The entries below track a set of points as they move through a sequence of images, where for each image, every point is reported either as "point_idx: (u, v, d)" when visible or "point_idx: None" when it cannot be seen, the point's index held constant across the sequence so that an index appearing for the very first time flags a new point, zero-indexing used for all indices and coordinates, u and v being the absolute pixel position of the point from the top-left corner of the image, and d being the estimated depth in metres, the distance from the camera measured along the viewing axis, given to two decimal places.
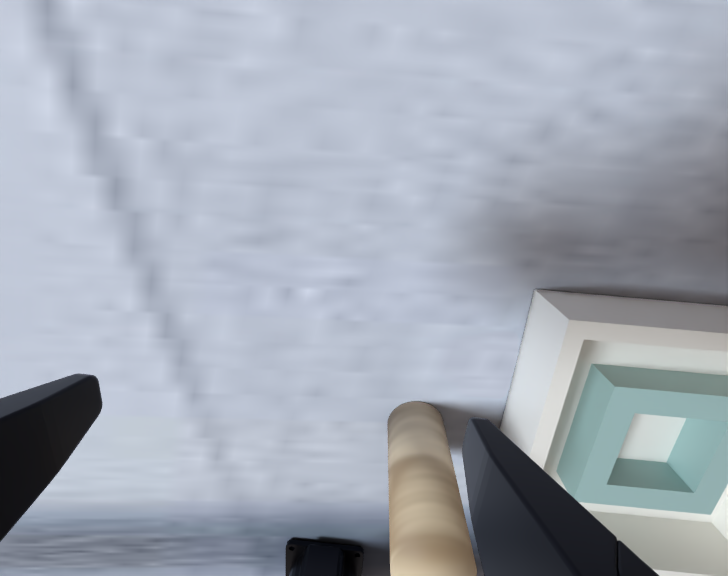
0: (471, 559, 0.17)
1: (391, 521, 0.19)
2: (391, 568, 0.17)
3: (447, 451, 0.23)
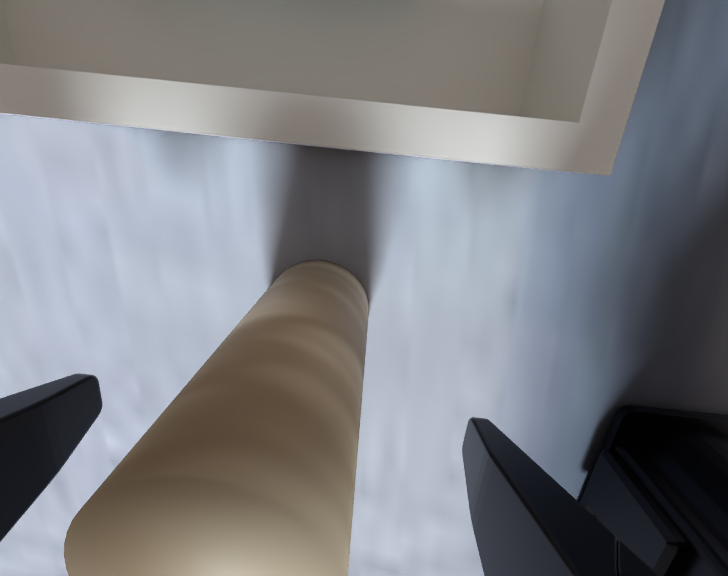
0: (113, 492, 0.05)
1: None
2: None
3: (256, 306, 0.11)
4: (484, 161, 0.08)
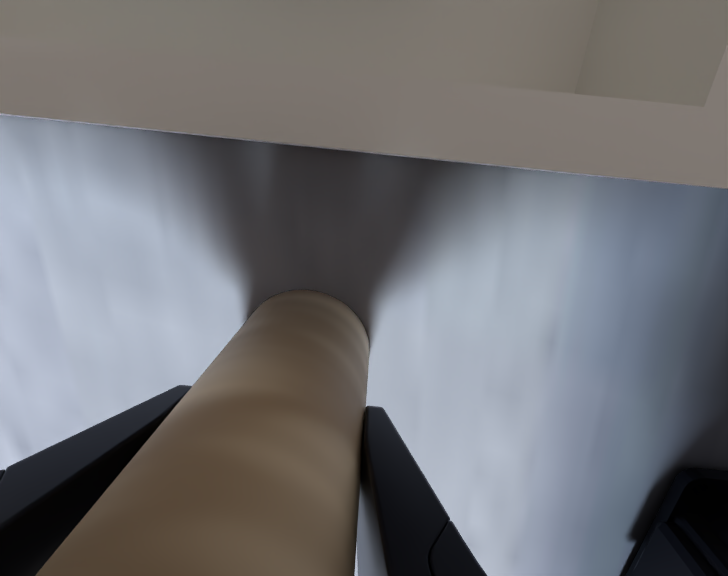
0: None
1: None
2: None
3: (213, 366, 0.08)
4: (548, 168, 0.05)
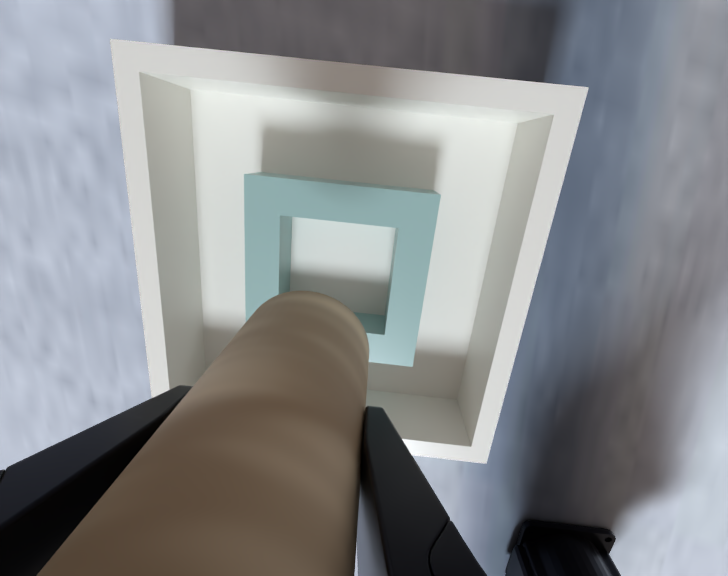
0: None
1: None
2: None
3: (212, 367, 0.08)
4: (433, 456, 0.20)
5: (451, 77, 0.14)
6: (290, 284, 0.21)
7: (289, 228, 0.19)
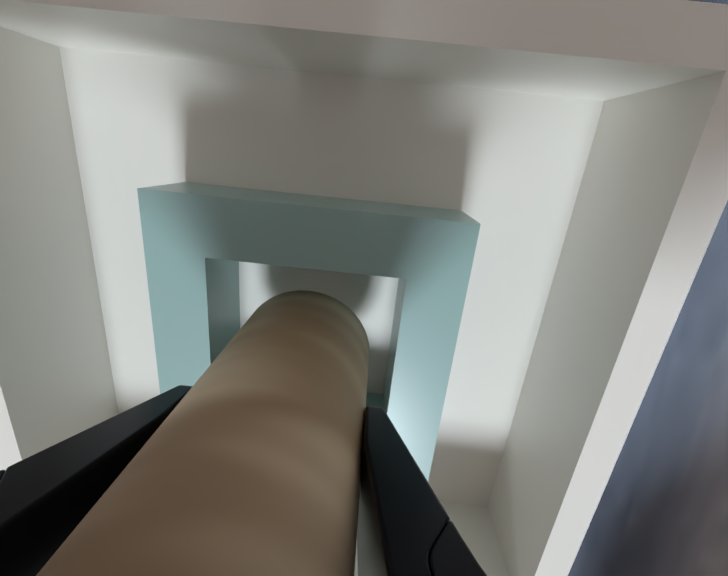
0: None
1: None
2: None
3: (212, 367, 0.08)
4: None
5: None
6: None
7: (232, 270, 0.12)
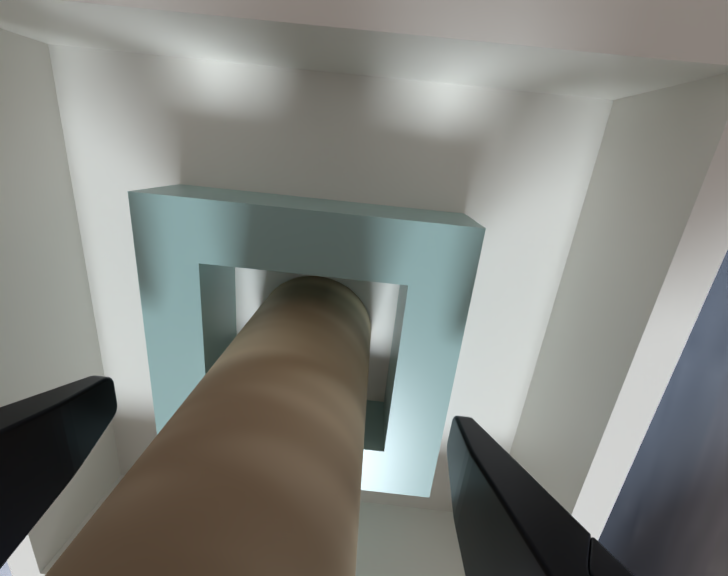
0: None
1: None
2: None
3: (239, 337, 0.09)
4: None
5: None
6: None
7: (228, 275, 0.12)
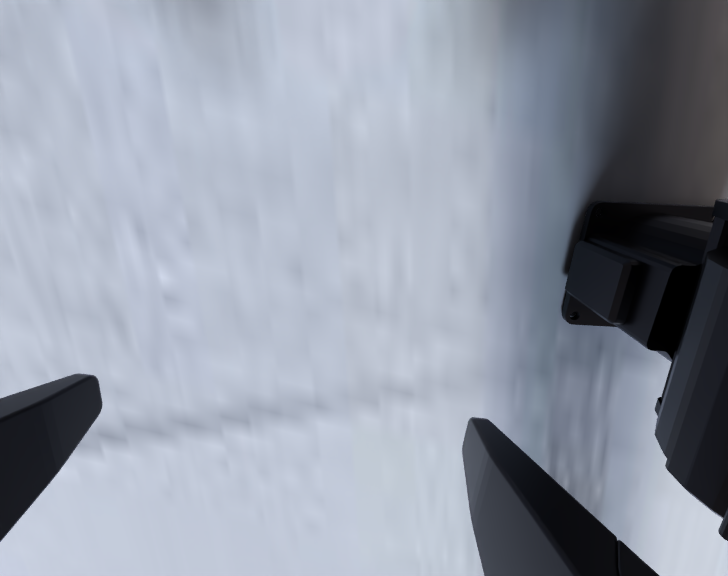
0: None
1: None
2: None
3: None
4: None
5: None
6: None
7: None
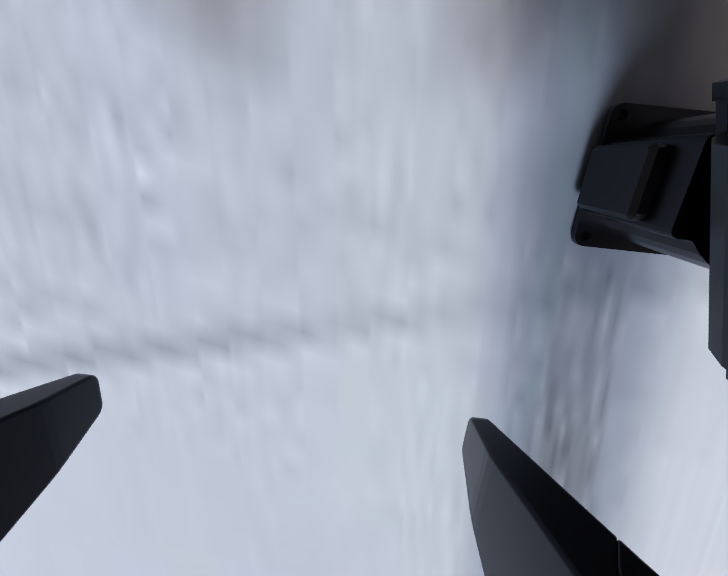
0: None
1: None
2: None
3: None
4: None
5: None
6: None
7: None
